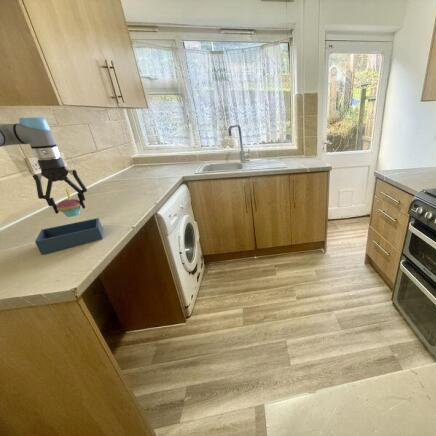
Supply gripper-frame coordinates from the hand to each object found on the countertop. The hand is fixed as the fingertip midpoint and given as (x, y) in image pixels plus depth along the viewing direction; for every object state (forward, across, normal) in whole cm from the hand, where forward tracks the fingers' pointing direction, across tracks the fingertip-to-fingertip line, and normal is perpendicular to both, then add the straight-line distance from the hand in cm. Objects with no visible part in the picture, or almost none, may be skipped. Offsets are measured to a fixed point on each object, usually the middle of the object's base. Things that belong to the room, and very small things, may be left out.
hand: (71, 210), depth 108 cm
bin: (+9, 0, -16) cm, 18 cm away
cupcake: (+3, 0, 0) cm, 3 cm away
